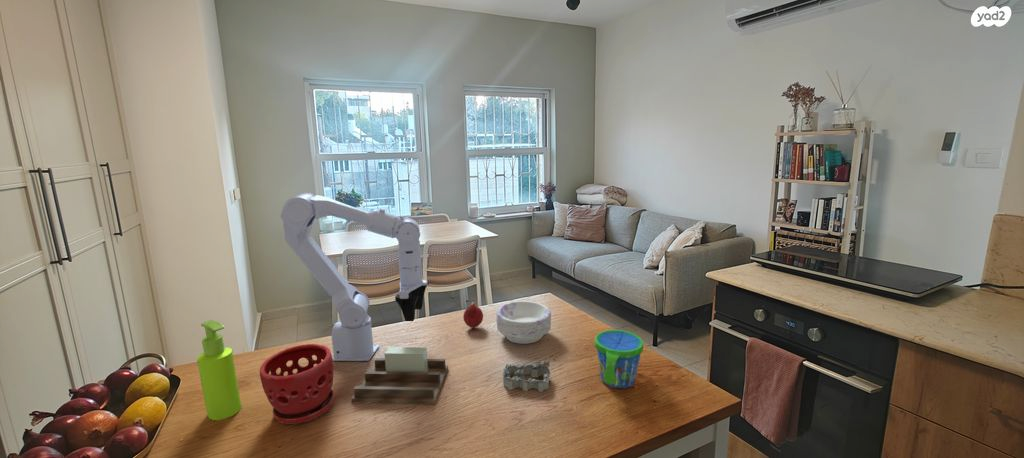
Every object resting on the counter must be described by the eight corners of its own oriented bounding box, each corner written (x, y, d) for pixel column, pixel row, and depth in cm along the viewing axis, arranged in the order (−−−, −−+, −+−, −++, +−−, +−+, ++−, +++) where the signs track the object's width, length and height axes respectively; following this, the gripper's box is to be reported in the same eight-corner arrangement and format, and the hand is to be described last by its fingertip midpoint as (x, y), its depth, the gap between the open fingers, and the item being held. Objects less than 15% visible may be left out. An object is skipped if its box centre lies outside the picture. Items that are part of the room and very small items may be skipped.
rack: (351, 402, 91) (350, 390, 90) (375, 368, 105) (374, 357, 104) (434, 404, 90) (434, 391, 89) (448, 369, 104) (447, 357, 103)
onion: (482, 332, 123) (481, 306, 121) (462, 332, 123) (461, 306, 121) (484, 324, 129) (483, 299, 127) (465, 324, 129) (464, 299, 127)
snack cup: (629, 406, 88) (631, 361, 86) (582, 390, 94) (582, 348, 92) (650, 371, 101) (652, 332, 99) (607, 360, 107) (608, 322, 105)
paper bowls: (553, 349, 113) (553, 321, 111) (495, 349, 113) (494, 322, 111) (548, 324, 127) (548, 299, 126) (498, 325, 128) (497, 300, 126)
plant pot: (289, 392, 95) (282, 343, 93) (347, 392, 95) (342, 343, 92) (252, 431, 82) (243, 375, 80) (319, 432, 82) (312, 375, 79)
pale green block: (386, 377, 99) (384, 353, 97) (390, 370, 102) (388, 347, 100) (424, 377, 98) (423, 353, 97) (427, 370, 101) (426, 347, 100)
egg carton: (551, 376, 100) (551, 360, 99) (548, 395, 93) (548, 378, 92) (507, 372, 102) (506, 356, 101) (500, 390, 95) (500, 373, 94)
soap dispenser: (218, 426, 84) (201, 332, 80) (202, 414, 88) (185, 324, 84) (249, 410, 89) (235, 320, 85) (232, 400, 93) (218, 314, 88)
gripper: (418, 274, 103) (421, 326, 106) (432, 257, 117) (434, 304, 120) (389, 274, 103) (393, 326, 106) (407, 257, 117) (410, 304, 120)
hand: (413, 314), depth 113 cm, fingers open, 7 cm apart
